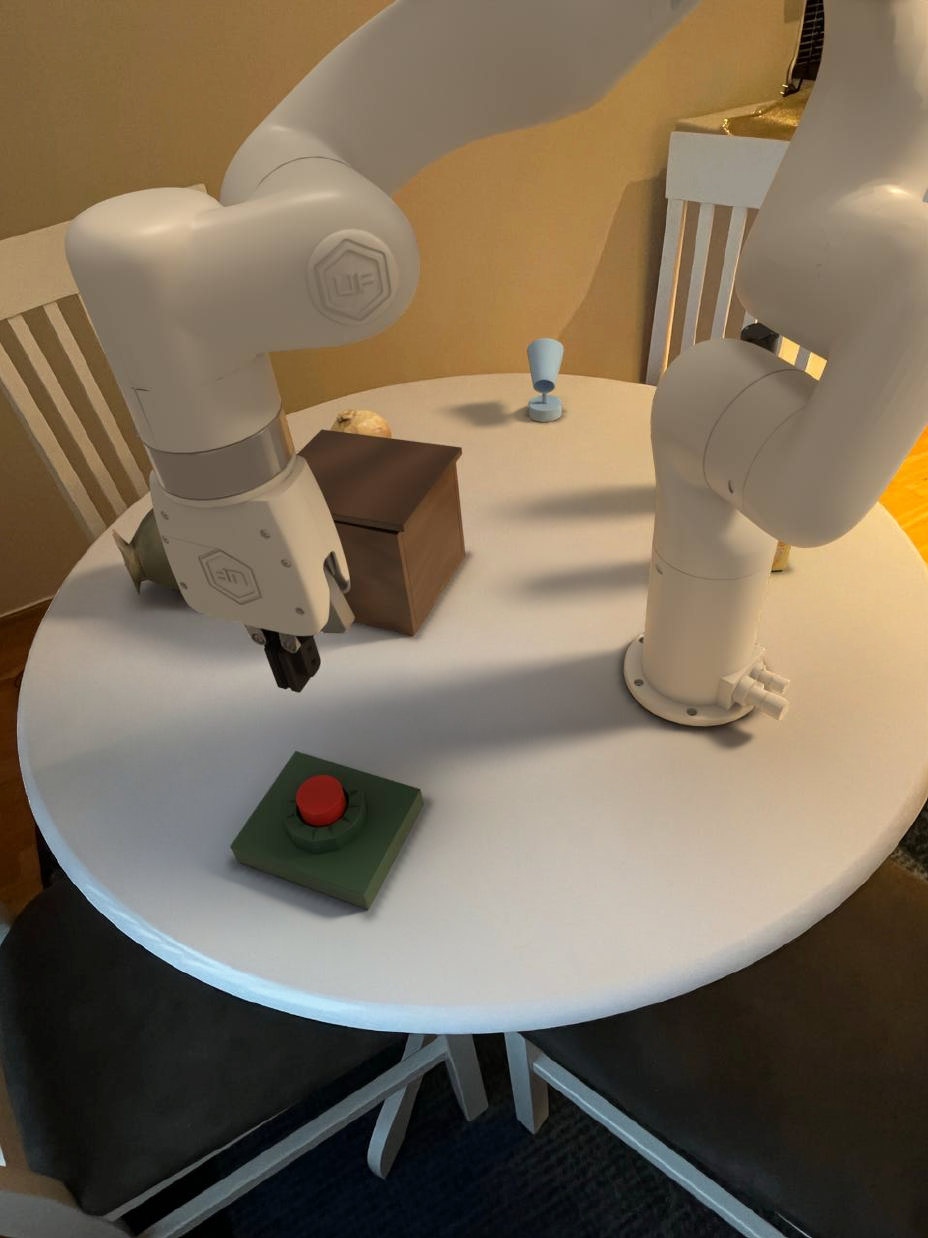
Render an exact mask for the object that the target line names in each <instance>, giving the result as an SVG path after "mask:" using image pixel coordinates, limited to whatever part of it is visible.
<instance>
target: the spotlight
mask: <svg viewBox="0 0 928 1238" xmlns="http://www.w3.org/2000/svg"><path fill="white" fill-rule="evenodd" d="M526 353H527V354H526V355H527V360H528V365H529V371H530V377H531V383H532V388H533V390H534V391H535V392H537V393H540V394H541V395H536V396H534V397H533V398H531V399H530V400H529V401H528V407H527V408H528V409H527V410H528V417H529V418H530V419H531V420H533V421H536V422H540V423H547V422H548V423H549V422H553V421H556V420H558V419H560V418H561V416H562V414H563V404H562V403H563V402H562V399H560V398H559V397H558V396H556V395H552V394H549V393H552V392H553V391H554V390H555V388H556V385H557V381H558V377H559V374H560V369H561V366H562V362H563V357H564V354H565V347H564V345H563V344H562V343H561V342H560V341H558V340H556V339H554V338H550V337H543V338H537V339H534V340H533V341H532V342H531V343H529V344H528V346H527V348H526Z"/></svg>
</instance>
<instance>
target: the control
mask: <svg viewBox="0 0 928 1238" xmlns="http://www.w3.org/2000/svg"><path fill="white" fill-rule="evenodd" d="M319 775H328V776H331V777H334V778H335V779H337V780H338V781H339V782H340V784H341V786H342V789H343V792H344V796H345V799H346V808H345V811H344V813H343V814H342V816H341V817H340V818H339V819H338V820H337V821H335V822H334V823H332V824H329V825H326V826H313V825H310V824H308V823H307V822H306V821H305V820H304V819H303V818H302V815H301V813H300V810H299V807H298V805H297V802H296V795H297V792H298V789H299V788H300V786H301V785H302V784H303V783H304V782H305V781H307V780H308V779H310V778H312V777H315V776H319ZM423 807H424V799H423V792H422V789H421V788H418V787H415V786H413V785H408V784H405V783H402V782H399V781H397V780H393V779H389V778H387V777H383V776H379V775H376V774H373V773H369V772H366V771H363V770H360V769H356V768H354V767H350V766H347V765H343V764H340V763H337V762H333V761H331V760H328V759H325V758H324V759H323V758H320V757H317V756H314V755H311V754H308V753H305V752H301V751H297V750H295V751H294V752H293V753H292V755H291V757H290V758H289V760H288V761H287V762H286V764H285V766H284V767H283V768H282V769H281V771H280V773H279V774H278V776H277V777H276V778H275V780H274V781H273V783H272V784H271V786H270V787H269V789H268V790H267V791H266V793H265V795H264V796H263V798H262V799H261V801H260V802H259V803H258V805H257V806H256V807H255V809H254V810H253V812H252V813H251V815H250V816H249V818H248V819H247V821H246V822H245V824H244V825H243V827H242V828H241V829H240V831H239V832H238V834H237V835H236V837H235V839H233V841H232V843H231V844H230V846H229V848H230V850H231V852H232V854H233V856H234V858H235V860H236V862H238V863H240V864H243V865H245V866H246V865H247V866H249V867H250V868H253V869H257V870H260V871H262V872H264V873H268V874H271V875H273V876H276V877H279V878H282V879H284V880H287V881H289V882H292V883H295V884H297V885H299V886H303V887H306V888H308V889H310V890H314V891H316V892H319V893H322V894H324V895H327V896H330V897H333V898H336V899H339V900H341V901H344V902H346V903H349V904H351V905H354V906H358V907H360V908H363V909H366V910H369V909H370V908H371V907H372V904H373V902H374V901H375V899H376V897H377V895H378V893H379V891H380V890H381V887H382V885H383V883H384V882H385V879H386V878H387V875H388V874H389V872H390V870H391V868H392V866H393V864H394V862H395V860H396V858H397V856H398V855H399V853H400V851H401V849H402V848H403V845H404V843H405V841H406V840H407V837H408V836H409V833H410V832H411V830H412V828H413V826H414V825H415V822H416V820H417V819H418V817H419V815H420V812H421V811H422V809H423Z"/></svg>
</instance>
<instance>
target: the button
mask: <svg viewBox="0 0 928 1238" xmlns="http://www.w3.org/2000/svg"><path fill="white" fill-rule="evenodd" d="M296 802H297V805H298V807H299V810H300V813H301V815H302V818H303V819H304V820H305V821H306V822H307V823H308V824H310V825H313V826H326V825H329V824H332V823H334V822H335V821H337V820H338V819H339V818H340V817H341V816H342V814H343V813H344V811H345V808H346V799H345V796H344V792H343V789H342V786H341V784H340V782H339V781H338V780H337V779H335V778H334V777H331V776H328V775H319V776H315V777H312V778H310V779H308V780H307V781H305V782H304V783H303V784H302V785H301V786H300V788H299V789H298V792H297V795H296Z"/></svg>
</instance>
